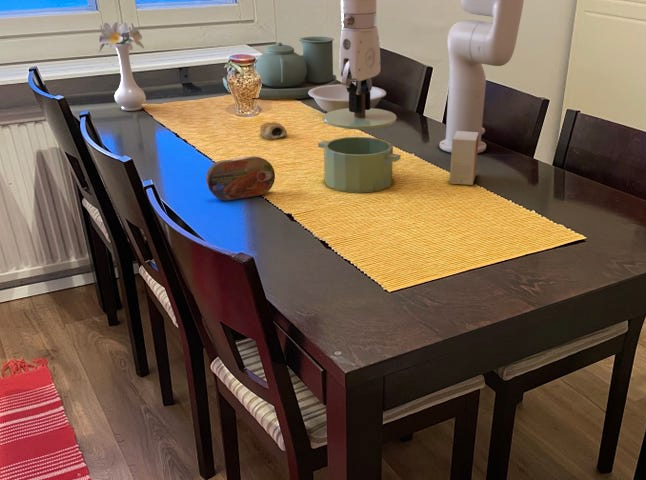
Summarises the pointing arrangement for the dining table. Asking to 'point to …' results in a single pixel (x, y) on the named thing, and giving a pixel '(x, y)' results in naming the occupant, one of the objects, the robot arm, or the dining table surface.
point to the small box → (464, 157)
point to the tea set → (295, 69)
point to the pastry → (272, 130)
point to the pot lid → (360, 118)
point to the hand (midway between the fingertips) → (359, 109)
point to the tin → (240, 178)
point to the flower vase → (124, 63)
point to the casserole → (358, 163)
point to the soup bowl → (340, 97)
